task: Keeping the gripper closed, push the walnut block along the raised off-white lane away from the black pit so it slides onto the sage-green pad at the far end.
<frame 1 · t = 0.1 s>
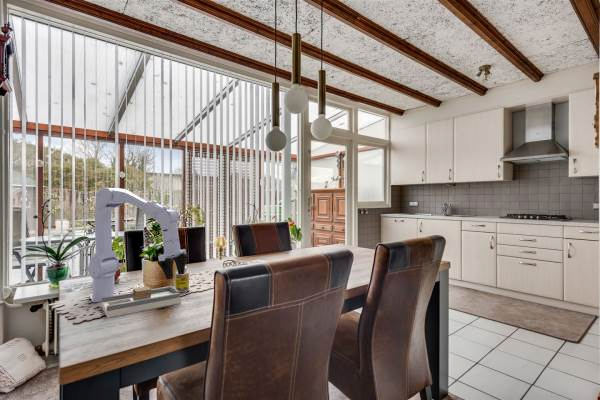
hand: (175, 276, 115), 11 cm above the table, tool pointing down, fingers open, 7 cm apart
supplement bottle: (182, 291, 133), on the table
cake: (107, 283, 143), on the table
block: (141, 299, 114), point 2 cm above the table, touching deck
deck: (141, 304, 114), on the table
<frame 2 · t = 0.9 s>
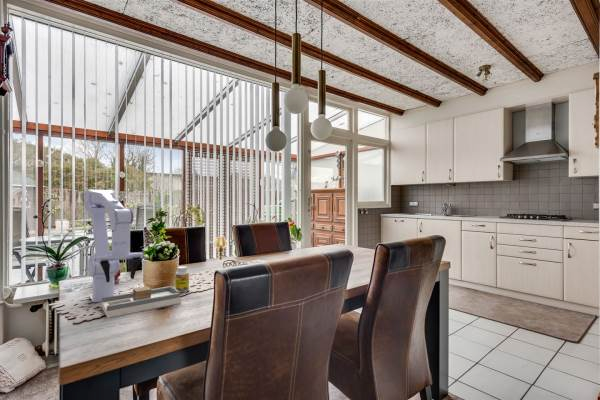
hand: (120, 280, 109), 10 cm above the table, tool pointing down, fingers open, 7 cm apart
nothing on the table moved.
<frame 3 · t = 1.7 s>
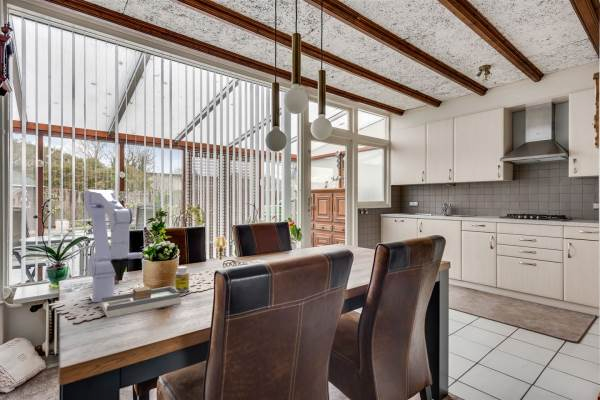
hand: (119, 280, 109), 10 cm above the table, tool pointing down, fingers closed
nothing on the table moved.
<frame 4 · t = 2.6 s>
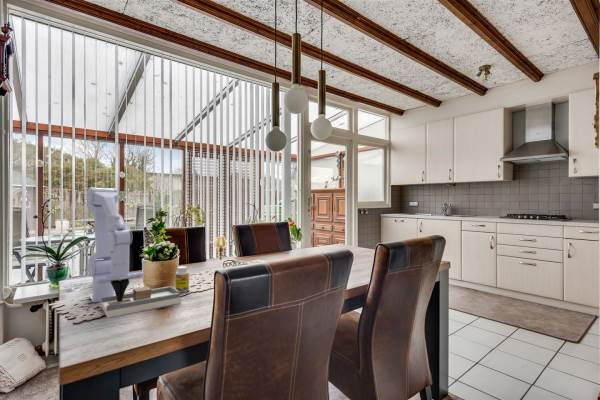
hand: (119, 300, 109), 3 cm above the table, tool pointing down, fingers closed
nothing on the table moved.
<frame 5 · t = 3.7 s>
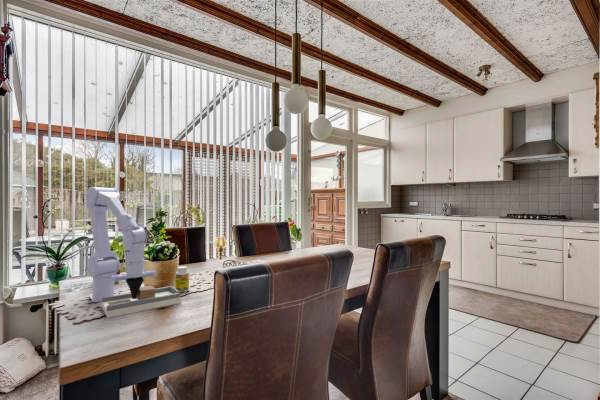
hand: (134, 298, 112), 3 cm above the table, tool pointing down, fingers closed
block: (146, 298, 115), point 2 cm above the table, touching deck, gripper
everything else where it was.
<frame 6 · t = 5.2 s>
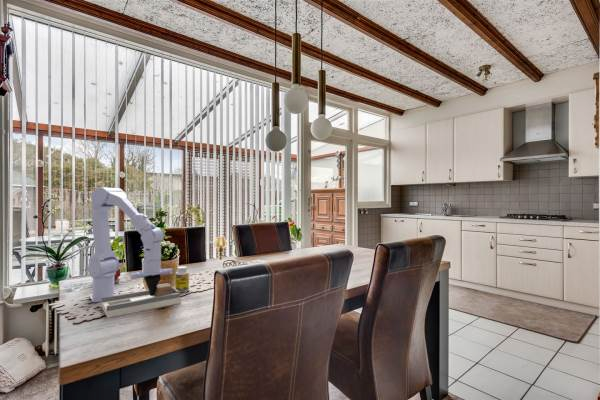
hand: (151, 295, 116), 3 cm above the table, tool pointing down, fingers closed
block: (162, 295, 119), point 2 cm above the table, touching deck, gripper
everything else where it was.
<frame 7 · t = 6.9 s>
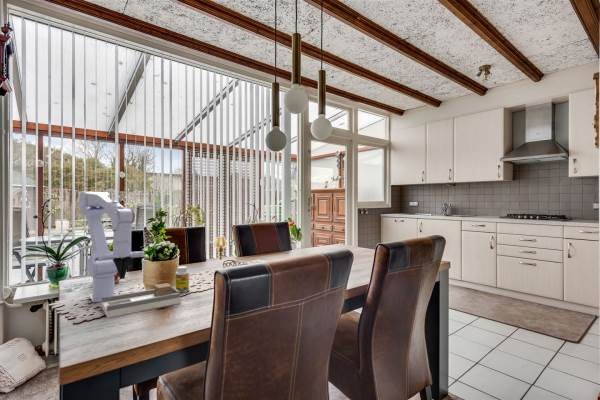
hand: (121, 278, 112), 10 cm above the table, tool pointing down, fingers closed
block: (162, 295, 119), point 2 cm above the table, touching deck
everything else where it was.
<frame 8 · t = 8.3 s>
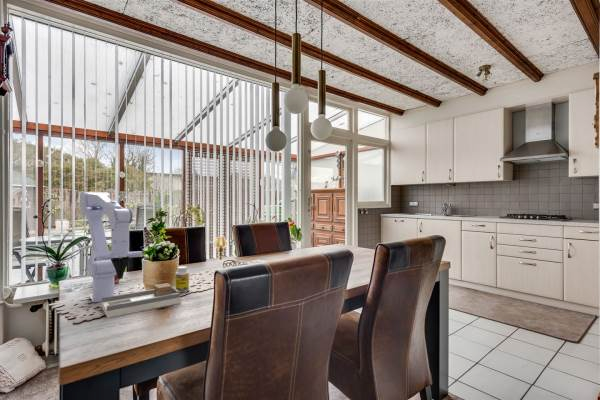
hand: (120, 278, 112), 10 cm above the table, tool pointing down, fingers closed
nothing on the table moved.
at the end: block 0.9 cm from the target spot on the deck, point 2.0 cm above the deck's base; block tilted 0°; block moved 7.4 cm from its start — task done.
